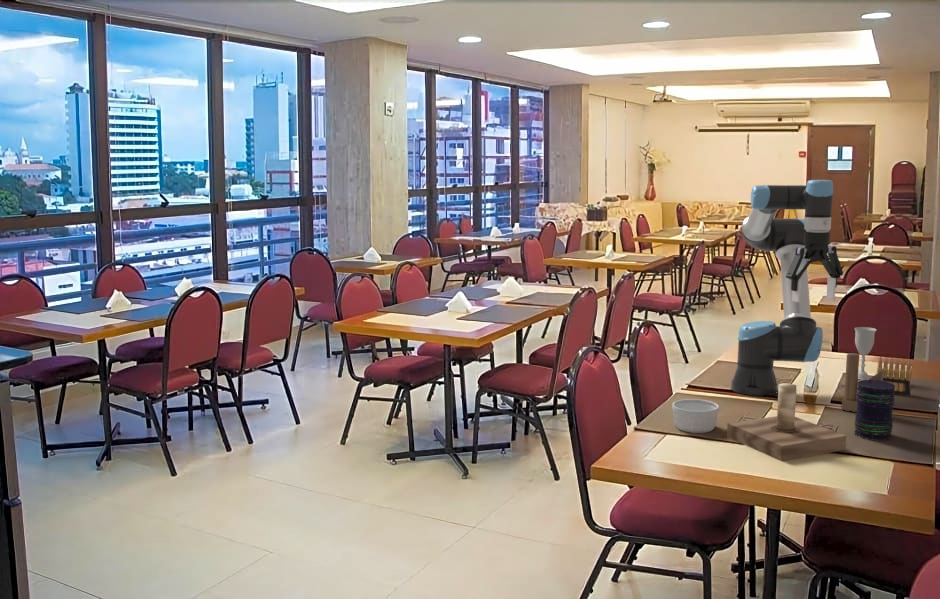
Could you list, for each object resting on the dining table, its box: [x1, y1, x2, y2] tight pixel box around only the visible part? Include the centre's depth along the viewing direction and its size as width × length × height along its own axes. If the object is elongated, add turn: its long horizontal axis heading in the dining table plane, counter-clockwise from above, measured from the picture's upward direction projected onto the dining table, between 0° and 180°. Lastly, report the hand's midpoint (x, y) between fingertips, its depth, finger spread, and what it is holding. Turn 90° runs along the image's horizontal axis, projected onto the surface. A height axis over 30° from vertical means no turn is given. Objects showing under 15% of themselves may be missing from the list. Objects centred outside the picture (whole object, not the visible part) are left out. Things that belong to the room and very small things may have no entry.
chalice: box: [853, 326, 877, 381], centre depth 320 cm, size 7×7×18 cm
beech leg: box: [776, 382, 797, 432], centre depth 249 cm, size 5×5×16 cm
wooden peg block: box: [841, 352, 884, 413], centre depth 278 cm, size 4×11×18 cm, turn 53°
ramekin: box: [671, 398, 720, 434], centre depth 264 cm, size 13×13×7 cm
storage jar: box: [854, 380, 896, 441], centre depth 256 cm, size 10×10×15 cm
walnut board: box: [726, 415, 847, 462], centre depth 250 cm, size 22×22×4 cm
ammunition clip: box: [876, 356, 912, 396], centre depth 301 cm, size 11×2×12 cm, turn 56°
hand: (813, 300), depth 278 cm, fingers open, 13 cm apart
